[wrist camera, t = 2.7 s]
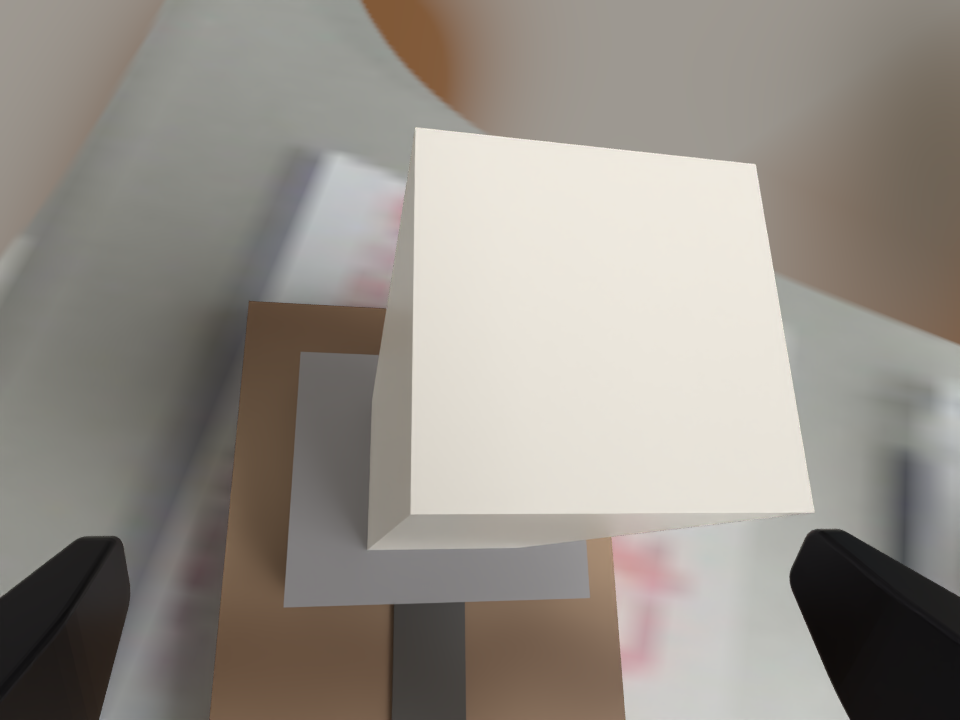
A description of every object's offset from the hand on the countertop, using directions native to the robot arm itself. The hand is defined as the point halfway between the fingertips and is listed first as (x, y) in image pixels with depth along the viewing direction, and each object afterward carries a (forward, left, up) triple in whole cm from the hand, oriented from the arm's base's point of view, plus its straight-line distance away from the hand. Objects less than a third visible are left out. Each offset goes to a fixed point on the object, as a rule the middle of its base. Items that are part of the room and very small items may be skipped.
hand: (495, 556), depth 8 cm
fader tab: (+1, +1, -7) cm, 7 cm away
